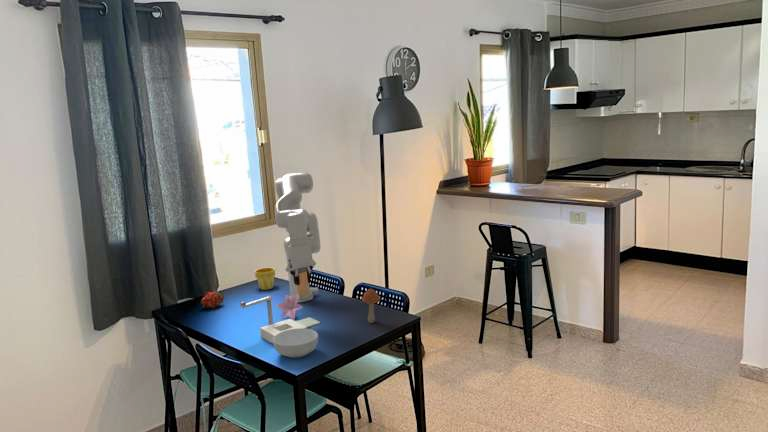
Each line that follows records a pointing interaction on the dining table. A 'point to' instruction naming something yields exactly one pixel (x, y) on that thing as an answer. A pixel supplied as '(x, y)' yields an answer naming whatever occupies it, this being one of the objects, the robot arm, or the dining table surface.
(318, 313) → the dining table surface
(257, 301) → the grey ball-jointed lever
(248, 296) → the dining table surface
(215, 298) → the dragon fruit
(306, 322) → the pad
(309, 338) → the cereal bowl
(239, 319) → the dining table surface
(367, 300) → the mushroom
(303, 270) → the plug
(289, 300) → the lily
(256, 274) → the plant pot
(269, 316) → the socket block
